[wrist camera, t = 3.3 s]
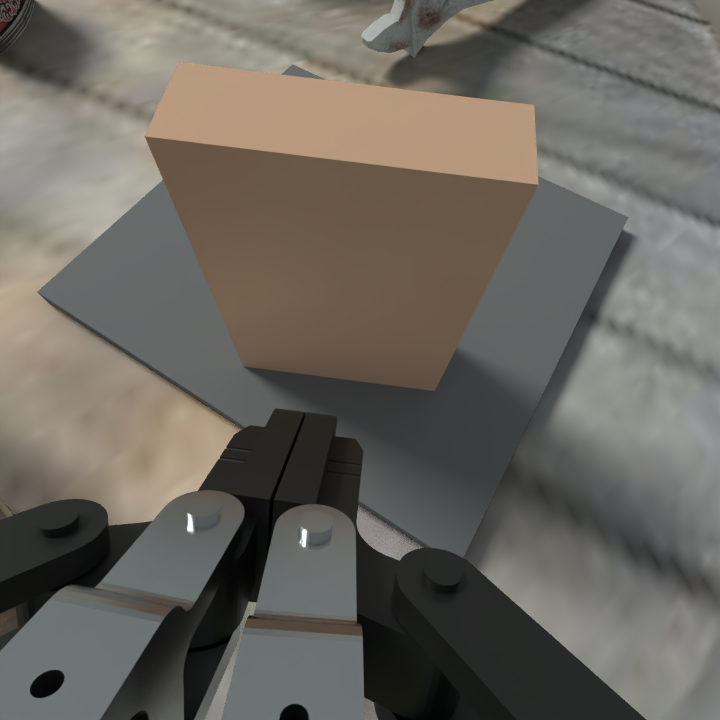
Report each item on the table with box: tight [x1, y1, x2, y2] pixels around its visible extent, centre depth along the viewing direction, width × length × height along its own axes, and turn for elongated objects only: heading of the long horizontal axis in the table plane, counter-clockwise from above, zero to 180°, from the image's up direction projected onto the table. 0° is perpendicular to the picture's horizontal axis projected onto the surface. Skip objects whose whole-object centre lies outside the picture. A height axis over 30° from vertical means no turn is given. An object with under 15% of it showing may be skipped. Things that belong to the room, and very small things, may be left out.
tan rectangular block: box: [145, 62, 538, 391], centre depth 19 cm, size 3×10×14 cm, turn 83°
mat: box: [38, 65, 628, 558], centre depth 29 cm, size 26×24×1 cm
